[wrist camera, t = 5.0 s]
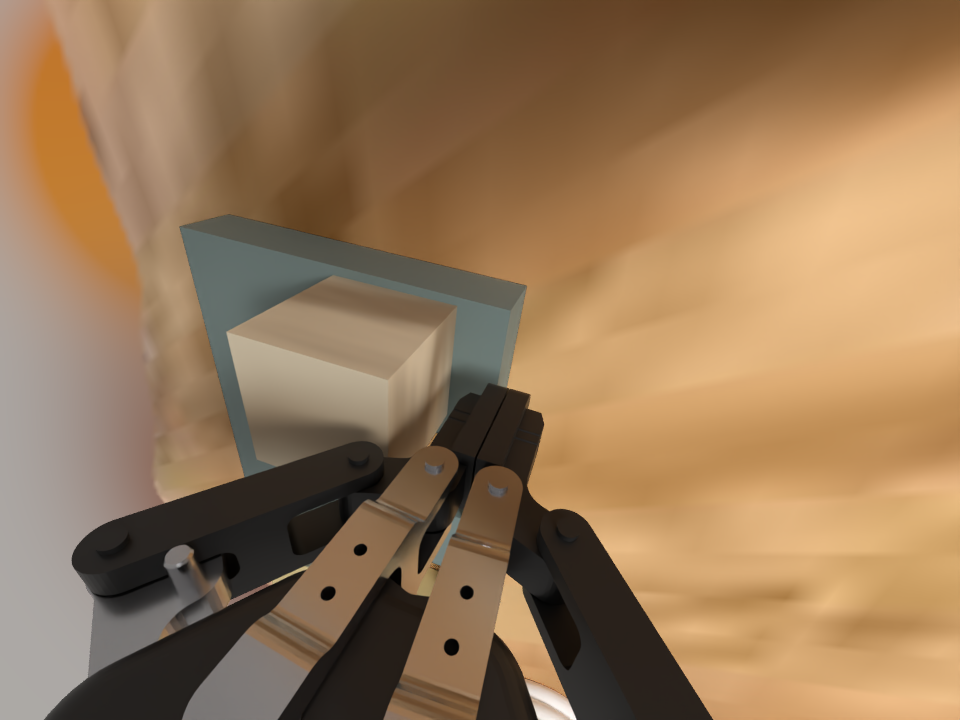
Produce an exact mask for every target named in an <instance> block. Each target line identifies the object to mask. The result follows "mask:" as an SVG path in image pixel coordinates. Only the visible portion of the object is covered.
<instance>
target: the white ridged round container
mask: <svg viewBox="0 0 960 720" xmlns="http://www.w3.org/2000/svg"><path fill="white" fill-rule="evenodd" d="M524 679H525V678H524ZM525 682H526V685H527V688H528V691H529V694H530V697H531V700H532V703H533V706H534V709H535V712H536V715H537V718H538V720H576V717H575V715H574V712H573V710H572V708H571V705H570V703H569V701H568V698H566V697H565V696H563V695H561V694H560V693H558V692H556V691H554V690H553V689H551V688H549V687H546V686H544V685H542V684H540V683H537V682H534V681H532V680H528V679H525Z"/></svg>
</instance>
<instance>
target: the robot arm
mask: <svg viewBox="0 0 960 720" xmlns="http://www.w3.org/2000/svg"><path fill="white" fill-rule="evenodd" d="M529 401H530V394H527V393H523V392H520V391H516V390H513V389H510V390H509V388H506V387H502V386H499V385H495V384H492V383H488V384H487V386H486V388H485V390H484V391H483V393H482V395H478V394H474V393H471V392H470V393H469V394H467V395H465V396H464V397H462V398H461V399H459V401H458V402H457V404H456V406H455V407H454V409H453V410H452V412H451V413H450V415H449V417H448V418H447V420H446V421H445V423H444V424H443V426H442V428H441V429H440V431H439V432H438V434H437V436H436V437H435V439H434V440H433V442H432V443H431V445H430V446H428V447H424V448H422V449H420V450H418V451H417V452H416V453H415V454H414V455H413V456H412V457H410V458H392V457H384V455H383V452H382V450H381V448H380V447H379V446H377V445H376V444H374V443H372V442H368V441H356V442H351V443H348V444H345V445H342V446H339V447H336V448H333V449H330V450H327V451H324V452H321V453H318V454H315V455H311V456H308V457H305V458H302V459H299V460H296V461H293V462H290V463H287V464H284V465H281V466H278V467H275V468H272V469H269V470H266V471H262V472H259V473H256V474H253V475H250V476H247V477H244V478H241V479H238V480H235V481H232V482H229V483H226V484H223V485H220V486H217V487H214V488H210V489H207V490H204V491H201V492H198V493H195V494H192V495H189V496H186V497H183V498H180V499H177V500H174V501H171V502H168V503H165V504H162V505H158V506H155V507H152V508H149V509H146V510H143V511H140V512H137V513H134V514H131V515H128V516H125V517H122V518H119V519H116V520H113V521H110V522H108V523H106V524H103V525H102V526H100V527H98V528H97V529H95V530H93V531H92V532H90V533H89V534H88V535H87V536H86V537H85V538H84V539H83V540H82V541H81V542H80V543H79V544H78V545H77V547H76V549H75V550H74V552H73V555H72V565H73V567H74V569H75V570H76V571H77V573H78V574H79V576H80V577H81V578H82V580H83V581H84V583H85V584H86V589H87V591H88V592H89V594H90V595H91V596H92V598H93V599H94V608H93V620H92V634H91V647H90V660H89V672H88V678H87V679H86V680H85V681H83V682H82V683H81V684H80V685H78V686H77V687H76V688H75V689H73V690H72V691H71V692H70V693H69V694H68V695H67V696H66V697H65V698H63V699H62V700H61V701H60V703H59V704H58V705H57V706H56V707H55V708H54V709H53V710H52V711H51V712H50V713H49V714H48V715H47V717H46V718H45V719H44V720H538V718H537V715H536V712H535V709H534V706H533V703H532V700H531V697H530V694H529V691H528V688H527V685H526V682H525V679H524V676H523V674H522V671H521V669H520V667H519V665H518V663H517V661H516V659H515V658H514V656H513V654H512V653H511V651H510V650H509V648H508V647H507V646H506V644H505V643H504V642H503V641H502V640H501V639H500V638H499V637H498V636H497V635H496V634H495V633H494V629H495V624H496V619H497V614H498V609H499V605H500V600H501V595H502V590H503V585H504V580H505V576H506V573H507V574H508V575H509V576H510V577H512V578H513V579H514V580H515V581H517V582H518V583H519V584H520V585H522V586H523V594H524V597H525V599H526V602H527V604H528V606H529V609H530V611H531V614H532V616H533V618H534V621H535V623H536V625H537V628H538V630H539V632H540V635H541V637H542V639H543V642H544V644H545V647H546V649H547V651H548V654H549V656H550V658H551V661H552V663H553V665H554V668H555V670H556V672H557V675H558V677H559V680H560V682H561V684H562V687H563V689H564V691H565V694H566V696H567V698H568V701H569V703H570V705H571V708H572V710H573V712H574V715H575V717H576V720H713V719H712V717H711V716H710V714H709V712H708V711H707V709H706V708H705V706H704V705H703V703H702V701H701V700H700V698H699V697H698V695H697V693H696V692H695V690H694V689H693V687H692V686H691V684H690V682H689V681H688V679H687V678H686V676H685V675H684V673H683V671H682V670H681V668H680V667H679V665H678V663H677V662H676V660H675V659H674V657H673V656H672V654H671V652H670V651H669V649H668V648H667V646H666V645H665V643H664V641H663V640H662V638H661V637H660V635H659V634H658V632H657V630H656V629H655V627H654V626H653V624H652V622H651V621H650V619H649V618H648V616H647V615H646V613H645V611H644V610H643V608H642V607H641V605H640V604H639V602H638V600H637V599H636V597H635V596H634V594H633V592H632V591H631V589H630V588H629V586H628V585H627V583H626V581H625V580H624V578H623V577H622V575H621V574H620V572H619V570H618V569H617V567H616V566H615V564H614V563H613V561H612V559H611V558H610V556H609V555H608V553H607V551H606V550H605V548H604V547H603V545H602V544H601V542H600V540H599V539H598V537H597V536H596V534H595V533H594V531H593V529H592V528H591V526H590V525H589V523H588V522H587V521H586V520H585V519H584V518H583V517H582V516H580V515H579V514H577V513H575V512H573V511H570V510H566V509H556V510H552V511H548V510H547V509H545V508H544V507H542V506H541V505H540V504H538V503H537V502H536V501H535V500H534V499H533V498H532V496H531V495H530V493H529V491H528V487H527V484H528V481H529V478H530V475H531V471H532V468H533V465H534V462H535V458H536V455H537V451H538V447H539V443H540V439H541V435H542V431H543V427H544V422H543V418H542V414H541V413H539V412H536V411H533V410H529V409H528V406H529ZM337 499H338V500H337ZM335 500H336V501H335ZM332 501H333V502H332ZM327 503H328V504H327ZM322 505H323V506H322ZM319 506H320V507H319ZM317 507H318V508H317ZM314 508H315V509H314ZM312 509H313V510H312ZM458 509H462V510H463V513H462V516H461V518H460V521H459V524H458V527H457V530H456V532H455V534H453V535H452V536H451V538H450V541H449V543H448V546H447V549H446V552H445V555H444V557H443V560H442V563H441V566H440V569H439V572H438V574H437V577H436V580H435V583H434V586H433V589H432V591H431V594H430V597H429V596H421V595H417V591H418V588H419V586H420V584H421V581H422V579H423V578H424V576H425V574H426V572H427V571H428V569H429V567H430V565H431V563H432V562H433V560H434V558H435V556H436V554H437V553H438V551H439V549H440V547H441V546H442V544H443V542H444V540H445V538H446V537H447V535H448V533H449V531H450V529H451V525H452V521H453V519H454V517H455V515H456V513H457V511H458ZM309 510H310V511H309ZM304 512H305V513H304ZM301 513H302V514H301ZM299 514H300V515H299ZM310 563H312V564H311V565H310V566H309V568H308V569H307V570H303V571H301V572H298V573H295V574H293V575H291V576H288V577H286V578H284V579H282V580H280V581H278V582H276V583H274V584H272V585H270V586H268V587H266V588H264V589H262V590H260V591H258V592H256V593H254V594H252V595H250V596H248V597H246V598H244V599H242V600H240V601H238V602H236V603H234V604H232V605H229V606H227V605H228V603H229V601H230V600H231V599H233V598H236V597H238V596H240V595H242V594H244V593H247V592H249V591H251V590H253V589H255V588H257V587H260V586H262V585H264V584H266V583H269V582H271V581H273V580H275V579H277V578H280V577H282V576H284V575H286V574H288V573H291V572H293V571H295V570H297V569H299V568H302V567H304V566H306V565H308V564H310Z"/></svg>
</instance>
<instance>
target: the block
mask: <svg viewBox="0 0 960 720" xmlns="http://www.w3.org/2000/svg"><path fill="white" fill-rule="evenodd" d="M456 314H457V306H455V305H451V304H447V303H443V302H439V301H435V300H431V299H427V298H423V297H419V296H415V295H411V294H407V293H403V292H399V291H395V290H391V289H387V288H383V287H379V286H375V285H371V284H367V283H363V282H359V281H355V280H351V279H347V278H343V277H339V276H335V275H332V276H330V277H329V278H327V279H325V280H323V281H321V282H319V283H317V284H315V285H314V286H312V287H310V288H308V289H306V290H304V291H302V292H300V293H298V294H297V295H295V296H293V297H291V298H289V299H287V300H285V301H283V302H282V303H280V304H278V305H276V306H274V307H272V308H270V309H268V310H266V311H265V312H263V313H261V314H259V315H257V316H255V317H253V318H251V319H249V320H248V321H246V322H244V323H242V324H240V325H238V326H236V327H234V328H233V329H231V330H229V331H227V332H226V333H227V337H228V342H229V346H230V350H231V354H232V358H233V362H234V367H235V371H236V375H237V379H238V383H239V387H240V392H241V396H242V400H243V404H244V408H245V412H246V417H247V421H248V425H249V429H250V433H251V437H252V442H253V446H254V450H255V454H256V458H257V460H260V461H262V462H265V463H268V464H271V465H273V466H276V467H278V466H281V465H284V464H287V463H290V462H293V461H296V460H299V459H302V458H305V457H308V456H311V455H315V454H318V453H321V452H324V451H327V450H330V449H333V448H336V447H339V446H342V445H345V444H348V443H351V442H356V441H368V442H372V443H374V444H376V445H377V446H379V447H380V448H381V450H382V452H383V455H384V457H392V458H410V457H412V456H413V455H414V454H415V453H416V452H417V451H418V450H420V449H422V448H424V447H427V446H428V444H429V443H430V441H431V439H432V438H433V436H434V435H435V433H436V432H437V430H438V428H439V427H440V425H441V424H442V422H443V420H444V419H445V417H446V416H447V409H448V399H449V388H450V378H451V367H452V357H453V346H454V336H455V325H456Z"/></svg>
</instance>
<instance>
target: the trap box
mask: <svg viewBox="0 0 960 720" xmlns="http://www.w3.org/2000/svg"><path fill="white" fill-rule="evenodd" d="M180 231H181V234H182V238H183V242H184V246H185V250H186V254H187V257H188V261H189V265H190V269H191V273H192V277H193V280H194V284H195V288H196V292H197V296H198V300H199V303H200V307H201V311H202V315H203V319H204V323H205V326H206V330H207V334H208V338H209V342H210V346H211V349H212V353H213V357H214V361H215V365H216V369H217V372H218V376H219V380H220V384H221V388H222V392H223V395H224V399H225V403H226V407H227V411H228V415H229V418H230V422H231V426H232V430H233V434H234V438H235V442H236V445H237V449H238V453H239V457H240V461H241V465H242V468H243V472H244V476H245V477H247V476H250V475H253V474H256V473H259V472H262V471H266V470H269V469H272V468H275V467H276V466H273V465H271V464H268V463H265V462H262V461H260V460H257V458H256V454H255V450H254V446H253V442H252V437H251V433H250V429H249V425H248V421H247V417H246V412H245V408H244V404H243V400H242V396H241V392H240V387H239V383H238V379H237V375H236V371H235V367H234V362H233V358H232V354H231V350H230V346H229V342H228V337H227V333H226V332H227V331H229V330H231V329H233V328H234V327H236V326H238V325H240V324H242V323H244V322H246V321H248V320H249V319H251V318H253V317H255V316H257V315H259V314H261V313H263V312H265V311H266V310H268V309H270V308H272V307H274V306H276V305H278V304H280V303H282V302H283V301H285V300H287V299H289V298H291V297H293V296H295V295H297V294H298V293H300V292H302V291H304V290H306V289H308V288H310V287H312V286H314V285H315V284H317V283H319V282H321V281H323V280H325V279H327V278H329V277H330V276H332V275H335V276H339V277H343V278H347V279H351V280H355V281H359V282H363V283H367V284H371V285H375V286H379V287H383V288H387V289H391V290H395V291H399V292H403V293H407V294H411V295H415V296H419V297H423V298H427V299H431V300H435V301H439V302H443V303H447V304H451V305H455V306H457V314H456V325H455V336H454V346H453V357H452V367H451V378H450V388H449V399H448V409H447V416H446V417H445V419H444V420H443V422H442V424H441V425H440V427H439V428H438V430H437V432H436V433H438V432H439V431H440V429H441V428H442V426H443V424H444V423H445V421H446V420H447V418H448V417H449V415H450V413H451V412H452V410H453V409H454V407H455V406H456V404H457V402H458V401H459V399H461V398H462V397H464V396H465V395H467V394H469V393H470V392H471V393H474V394H478V395H482V393H483V391H484V390H485V388H486V386H487V384H488V383H492V384H495V385H499V386H502V387H506V388H507V383H508V378H509V373H510V368H511V363H512V358H513V353H514V348H515V343H516V338H517V333H518V328H519V323H520V318H521V313H522V308H523V302H524V297H525V292H526V287H527V286H525V285H521V284H517V283H513V282H509V281H504V280H500V279H496V278H492V277H488V276H484V275H479V274H475V273H471V272H467V271H463V270H459V269H454V268H450V267H446V266H442V265H438V264H434V263H429V262H425V261H421V260H417V259H413V258H409V257H404V256H400V255H396V254H392V253H388V252H384V251H379V250H375V249H371V248H367V247H363V246H359V245H354V244H350V243H346V242H342V241H338V240H334V239H329V238H325V237H321V236H317V235H313V234H309V233H304V232H300V231H296V230H292V229H288V228H284V227H279V226H275V225H271V224H267V223H263V222H259V221H254V220H250V219H246V218H242V217H238V216H234V215H229V214H228V215H224V216H220V217H216V218H212V219H208V220H204V221H200V222H196V223H192V224H188V225H184V226H180ZM337 500H338V499H337ZM335 501H336V500H335ZM332 502H333V501H332ZM327 504H328V503H327ZM322 506H323V505H322ZM319 507H320V506H319ZM317 508H318V507H317ZM314 509H315V508H314ZM312 510H313V509H312ZM309 511H310V510H309ZM304 513H305V512H304ZM462 513H463V510H462V509H458V511H457V513H456V515H455V517H454V519H453V521H452V525H451V529H450V531H449V533H448V535H447V537H446V538H445V540H444V542H443V544H442V546H441V547H440V549H439V551H438V553H437V554H436V556H435V558H434V560H433V562H432V563H435V564H437V565H440V566H441V563H442V560H443V557H444V555H445V552H446V549H447V546H448V543H449V541H450V538H451V536H452V535H453V534H455V532H456V530H457V527H458V524H459V521H460V518H461V516H462ZM301 514H302V513H301ZM299 515H300V514H299ZM311 564H312V563H310V564H308V565H306V566H304V567H302V568H299V569H297V570H295V571H293V572H291V573H288V574H286V575H284V576H282V577H280V578H277V579H275V580H273V581H272V583H273V584H274V583H276V582H278V581H280V580H282V579H284V578H286V577H288V576H291V575H293V574H295V573H298V572H301V571H303V570H307V569H308V568H309V566H310V565H311ZM438 572H439V571H437V570H435V569H432V568H430V567H429V569H428V571H427V572H426V574H425V576H424V578H423V579H422V581H421V584H420V586H419V588H418V591H417V595H421V596H429V597H430V594H431V591H432V589H433V586H434V583H435V580H436V577H437V574H438Z"/></svg>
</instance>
